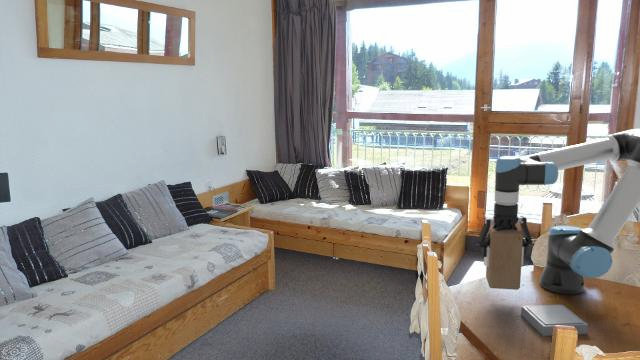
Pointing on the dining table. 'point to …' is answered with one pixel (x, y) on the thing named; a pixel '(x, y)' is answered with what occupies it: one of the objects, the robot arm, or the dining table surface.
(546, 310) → the slate tray
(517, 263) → the wooden block
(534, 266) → the dining table surface
